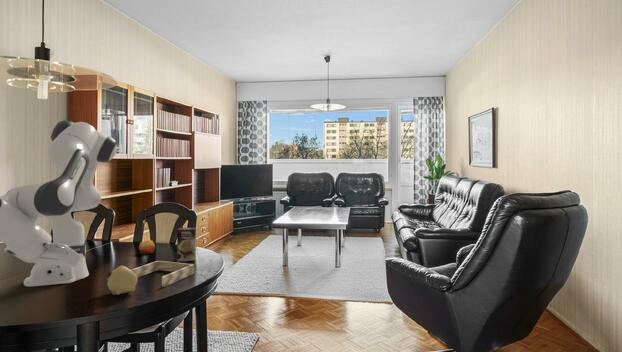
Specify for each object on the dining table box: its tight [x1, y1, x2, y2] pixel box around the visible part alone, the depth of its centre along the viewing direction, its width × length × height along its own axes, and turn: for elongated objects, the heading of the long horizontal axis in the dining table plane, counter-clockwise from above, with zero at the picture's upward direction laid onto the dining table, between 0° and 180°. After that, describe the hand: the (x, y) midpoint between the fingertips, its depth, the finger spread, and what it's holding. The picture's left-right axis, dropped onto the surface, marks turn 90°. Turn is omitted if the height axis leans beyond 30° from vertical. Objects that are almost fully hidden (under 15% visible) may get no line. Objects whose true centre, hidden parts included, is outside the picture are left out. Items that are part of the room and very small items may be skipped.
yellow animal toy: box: [106, 265, 139, 296], centre depth 137 cm, size 10×12×11 cm
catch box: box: [130, 260, 196, 288], centre depth 157 cm, size 20×20×4 cm
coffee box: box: [176, 227, 197, 263], centre depth 187 cm, size 9×6×16 cm
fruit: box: [138, 239, 156, 255], centre depth 201 cm, size 8×8×8 cm
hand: (64, 268), depth 115 cm, fingers closed
